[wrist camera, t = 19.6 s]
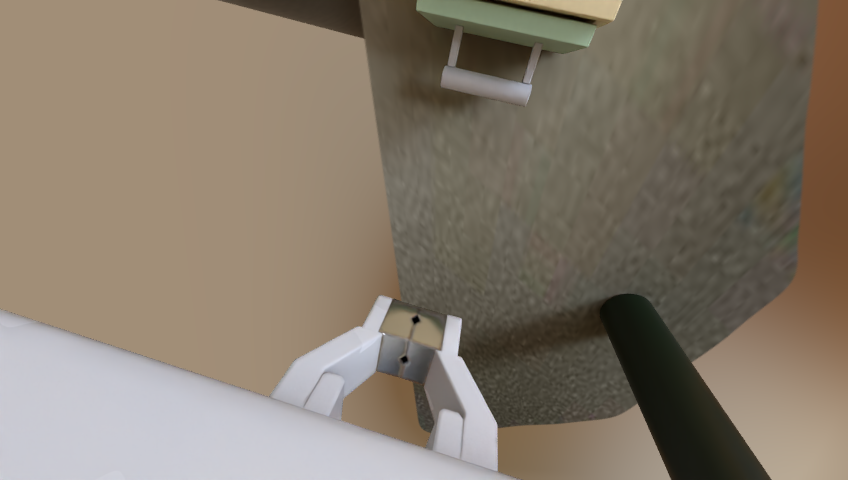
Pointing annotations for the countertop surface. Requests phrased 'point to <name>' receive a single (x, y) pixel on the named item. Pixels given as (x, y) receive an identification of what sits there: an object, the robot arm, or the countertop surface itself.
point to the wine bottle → (675, 398)
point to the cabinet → (571, 9)
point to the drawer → (464, 12)
